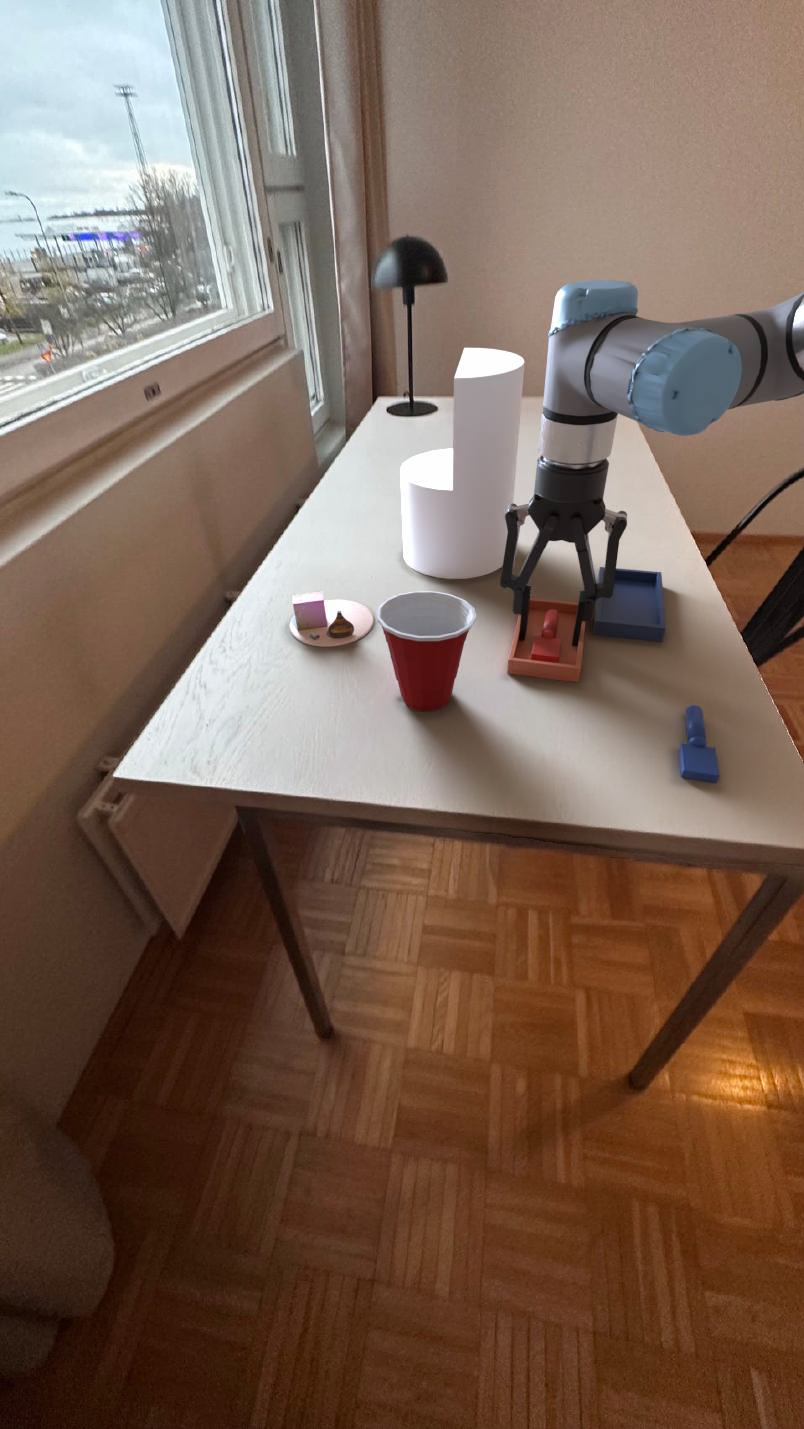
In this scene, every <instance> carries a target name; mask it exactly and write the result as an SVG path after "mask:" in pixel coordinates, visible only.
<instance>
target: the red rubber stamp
mask: <svg viewBox="0 0 804 1429" xmlns="http://www.w3.org/2000/svg"><path fill="white" fill-rule="evenodd" d="M558 619H559V613H558V612H557V611H556V610H555V609H550V610H548V611H547V612H546V614H545V620H544V625H543V630H542V636H535V639H534V644H533V649H532V654H531V660H535V661H543V662H551V663H558V662H559V655H560V648H561V641H562V639H559V638H556V632H557V625H558Z"/></svg>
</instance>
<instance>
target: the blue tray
mask: <svg viewBox="0 0 804 1429" xmlns="http://www.w3.org/2000/svg"><path fill="white" fill-rule="evenodd" d="M598 569H599V570H598V573H597V574H598V575H597V580H596V583H597V584H598V583H603V579H604V569H605V566H599V568H598ZM665 614H666V613H665V602H664V588H663V575H662V572H661V571H651V570H641V569H629V568H618V567H616V572H615V580H614V589H613V595H612V597H610V598H604V597H602V598H598V599H597V600H596V602H595V606H594V619H593V620H594V622H593V635H597V636H606V637H615V638H624V639H631V640H632V639H633V640H642V641H651V642H659V643H660V642H661V643H662V642H663V639H664V636H665V632H666V617H665V616H666V615H665Z"/></svg>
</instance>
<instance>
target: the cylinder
mask: <svg viewBox="0 0 804 1429" xmlns="http://www.w3.org/2000/svg"><path fill="white" fill-rule="evenodd" d="M525 363H526V362H525V360H524V358H523V357H522V356H521V355H519V354H517V353H514V352H510V351H507V350H503V349H502V350H501V349H496V348H485V347H464V348H463V350H462V354H461V357H460V360H459V362H458V366H457V368H456V371H455V374H454V377H453V412H452V413H453V414H452V415H453V419H452V423H453V424H452V448H443V449H436V450H435V449H433V450H430V451H426V452H422V453H419V454H417V455H414V456H411V457H410V458H409V459H407V460H406V461H404V462H403V463H402V465H401V466H400V472H399V475H400V497H401V498H400V499H401V500H400V502H401V516H402V517H401V521H402V522H401V524H402V525H401V526H402V527H401V528H402V548H403V550H402V552H403V559H404V561H405V563H406V564H407V565H408V566H409V567H410V568H412V570H414V571H416V572H418V573H420V574H423V575H426V576H429V577H435V578H438V579H447V580H466V579H473V578H479V577H483V576H486V575H488V574H492V573H494V572H495V571H497V570H499V569H500V568H501V569H502V567H503V560H504V554H505V547H506V541H507V534H508V530H507V525H506V521H505V514H506V511H507V508H508V506H509V505H510V504H512V503H514V502H515V501H514V499H515V498H514V497H515V487H516V486H515V485H516V474H517V463H518V462H517V461H518V451H519V436H520V425H521V411H522V401H523V400H522V399H523V387H524V386H523V385H524V374H525Z"/></svg>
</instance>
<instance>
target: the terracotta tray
mask: <svg viewBox="0 0 804 1429" xmlns="http://www.w3.org/2000/svg"><path fill="white" fill-rule="evenodd" d="M577 608H578V602H573V601H564V600H553V599H545V598H533V597H530V605H529V614H528V624H527V631H526V636H525V640H519V631H520V621H521V615H518V617H517V621H516V626H515V631H514V633H513V638H512V642H511V646H510V649H509V650H510V651H509V656H508V658H507V668H506V674H510V675H518V676H523V677H524V676H525V677H533V678H541V679H549V680H555V681H556V680H557V681H564V682H572V683H579V682H580V677H581V671H582V664H583V653H584V642H585V630H586V622H584V621H582V625H581V631H580V637H579V642H578V646H572V640H573V632H574V626H575V620H576V614H577ZM550 609H555V610H556V611H557V612H558V613H559V619H558V625H557V632H556V638H559V639H562V641H561V648H560V655H559V662H558V663H551V662H543V661H535V660H531V654H532V649H533V644H534V639H535V636H542V630H543V625H544V620H545V614H546V612H547V611H548V610H550Z"/></svg>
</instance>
